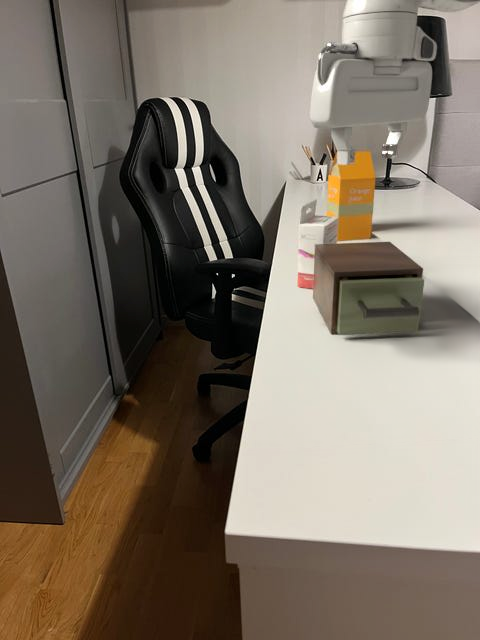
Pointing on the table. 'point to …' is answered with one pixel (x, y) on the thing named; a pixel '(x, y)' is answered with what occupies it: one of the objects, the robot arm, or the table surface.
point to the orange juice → (352, 196)
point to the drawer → (379, 304)
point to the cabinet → (353, 270)
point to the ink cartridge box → (313, 240)
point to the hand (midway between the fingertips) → (368, 161)
